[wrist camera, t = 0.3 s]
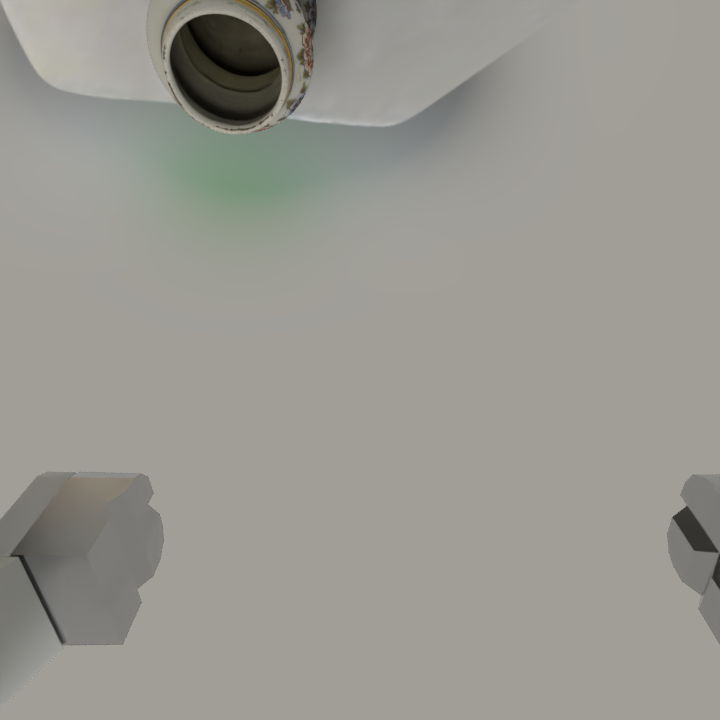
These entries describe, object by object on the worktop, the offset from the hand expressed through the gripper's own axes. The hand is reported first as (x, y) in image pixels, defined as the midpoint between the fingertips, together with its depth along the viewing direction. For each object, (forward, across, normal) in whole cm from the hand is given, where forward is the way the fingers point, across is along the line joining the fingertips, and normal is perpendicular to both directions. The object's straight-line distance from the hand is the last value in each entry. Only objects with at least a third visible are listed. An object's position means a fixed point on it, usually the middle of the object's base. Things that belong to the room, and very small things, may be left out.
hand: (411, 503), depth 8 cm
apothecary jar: (+51, +12, -13) cm, 54 cm away
